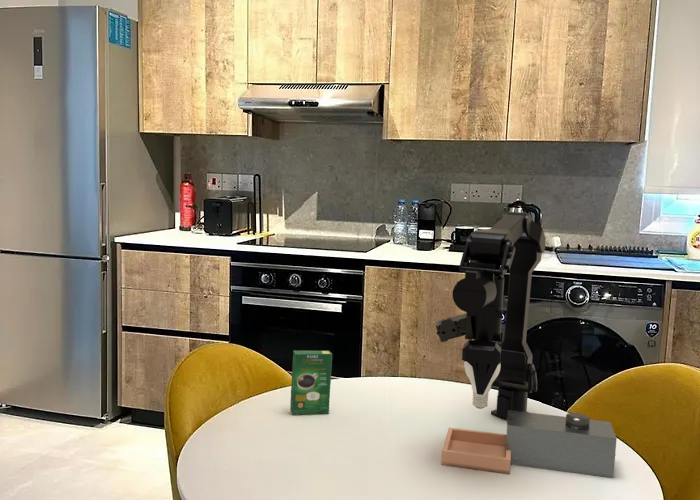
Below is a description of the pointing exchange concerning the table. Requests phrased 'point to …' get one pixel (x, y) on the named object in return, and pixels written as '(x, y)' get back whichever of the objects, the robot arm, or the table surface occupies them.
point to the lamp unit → (561, 443)
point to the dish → (476, 450)
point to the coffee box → (311, 382)
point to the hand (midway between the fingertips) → (481, 389)
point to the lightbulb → (478, 400)
